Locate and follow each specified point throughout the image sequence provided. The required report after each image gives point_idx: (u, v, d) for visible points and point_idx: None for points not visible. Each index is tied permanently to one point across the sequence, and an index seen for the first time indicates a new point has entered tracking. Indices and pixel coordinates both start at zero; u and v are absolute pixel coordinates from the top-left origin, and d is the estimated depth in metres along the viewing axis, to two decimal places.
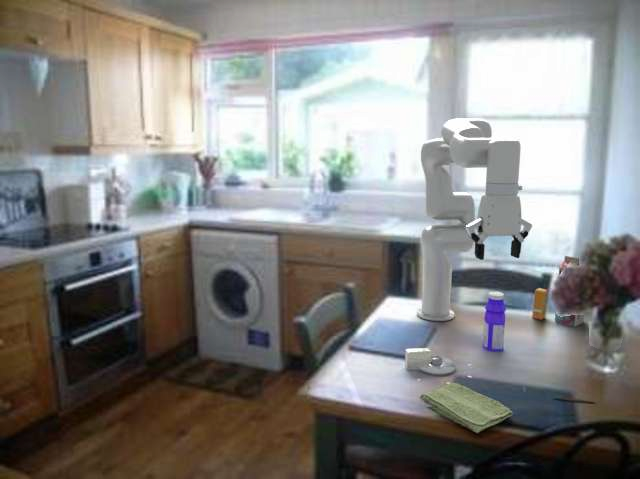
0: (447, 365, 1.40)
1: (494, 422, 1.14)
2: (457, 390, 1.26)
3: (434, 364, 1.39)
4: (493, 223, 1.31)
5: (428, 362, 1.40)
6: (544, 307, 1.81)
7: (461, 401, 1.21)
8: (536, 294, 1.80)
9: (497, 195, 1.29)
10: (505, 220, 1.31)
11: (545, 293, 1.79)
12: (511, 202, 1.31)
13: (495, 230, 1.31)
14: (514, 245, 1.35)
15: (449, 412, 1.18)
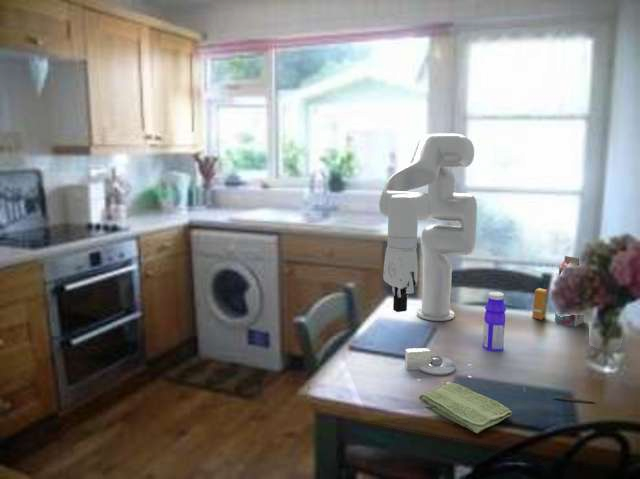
0: (447, 365, 1.40)
1: (494, 422, 1.14)
2: (456, 390, 1.26)
3: (434, 364, 1.39)
4: None
5: (428, 362, 1.40)
6: (544, 307, 1.81)
7: (460, 401, 1.21)
8: (536, 294, 1.80)
9: (416, 246, 1.38)
10: None
11: (545, 293, 1.79)
12: None
13: None
14: None
15: (449, 413, 1.17)
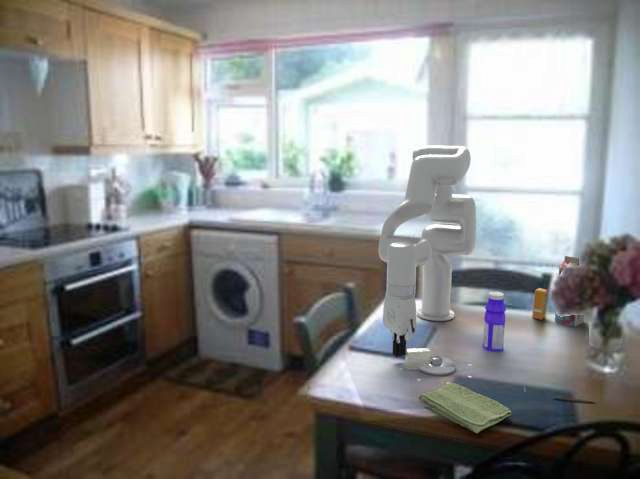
0: (447, 365, 1.40)
1: (493, 422, 1.14)
2: (455, 390, 1.26)
3: (434, 364, 1.39)
4: None
5: (428, 362, 1.40)
6: (544, 307, 1.81)
7: (460, 401, 1.21)
8: (536, 294, 1.80)
9: None
10: None
11: (545, 293, 1.79)
12: None
13: None
14: None
15: (448, 413, 1.17)
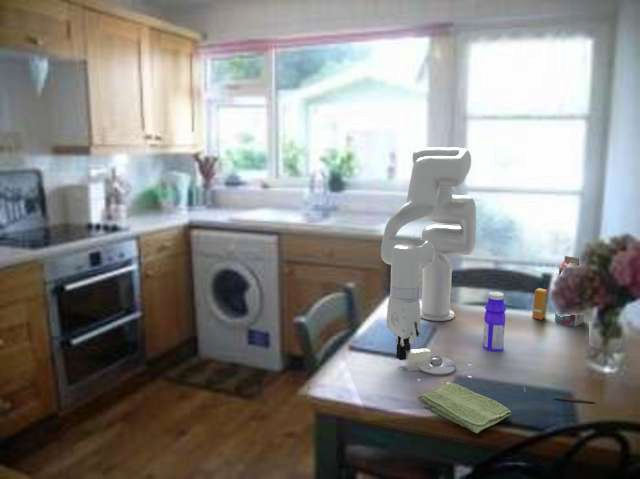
0: (447, 365, 1.40)
1: (493, 422, 1.14)
2: (455, 390, 1.26)
3: (434, 364, 1.39)
4: None
5: (428, 362, 1.39)
6: (544, 307, 1.81)
7: (459, 401, 1.21)
8: (536, 294, 1.80)
9: (419, 296, 1.38)
10: None
11: (545, 293, 1.79)
12: None
13: None
14: None
15: (448, 413, 1.17)
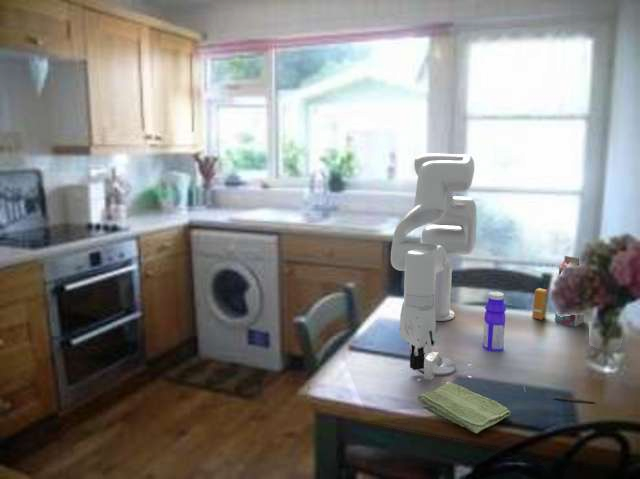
0: (444, 360, 1.43)
1: (493, 422, 1.14)
2: (454, 390, 1.26)
3: (440, 364, 1.40)
4: None
5: (437, 364, 1.38)
6: (544, 307, 1.81)
7: (459, 401, 1.21)
8: (536, 294, 1.80)
9: (434, 304, 1.32)
10: None
11: (545, 293, 1.79)
12: None
13: None
14: None
15: (448, 413, 1.17)
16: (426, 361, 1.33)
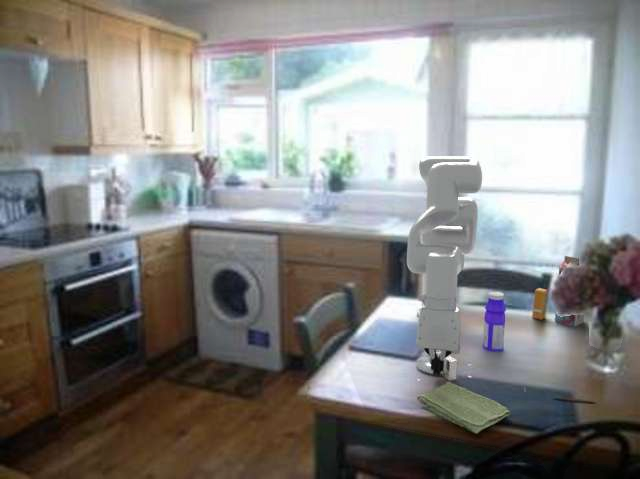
0: None
1: (492, 422, 1.14)
2: (453, 390, 1.26)
3: None
4: None
5: None
6: (544, 307, 1.81)
7: (458, 402, 1.21)
8: (536, 294, 1.80)
9: None
10: None
11: (545, 293, 1.79)
12: None
13: None
14: None
15: (447, 414, 1.17)
16: (451, 362, 1.33)
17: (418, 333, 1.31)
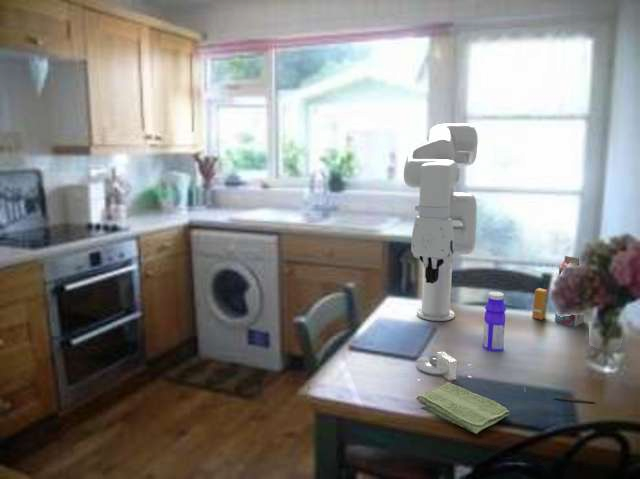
0: None
1: (492, 422, 1.14)
2: (453, 391, 1.26)
3: None
4: None
5: None
6: (544, 307, 1.81)
7: (458, 402, 1.21)
8: (536, 294, 1.80)
9: None
10: None
11: (545, 293, 1.79)
12: None
13: None
14: None
15: (447, 414, 1.17)
16: (451, 362, 1.33)
17: (412, 241, 1.38)
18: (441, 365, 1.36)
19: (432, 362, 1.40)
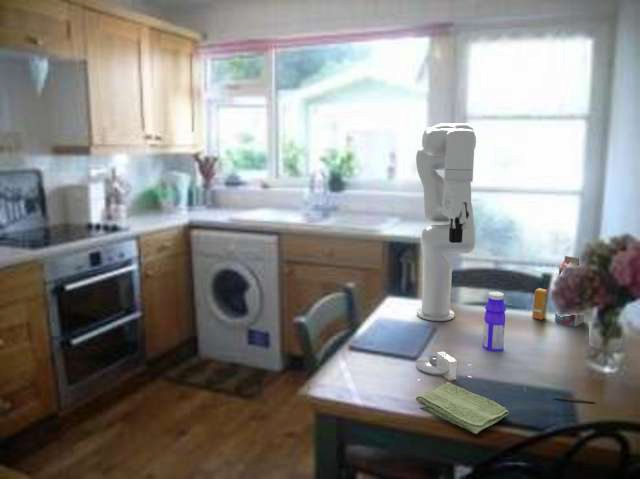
0: None
1: (492, 422, 1.14)
2: (452, 391, 1.26)
3: None
4: None
5: None
6: (544, 307, 1.81)
7: (457, 402, 1.21)
8: (536, 294, 1.80)
9: (471, 179, 1.43)
10: None
11: (545, 293, 1.79)
12: None
13: None
14: None
15: (447, 414, 1.17)
16: (451, 362, 1.33)
17: (442, 202, 1.51)
18: (441, 365, 1.36)
19: (432, 362, 1.40)
